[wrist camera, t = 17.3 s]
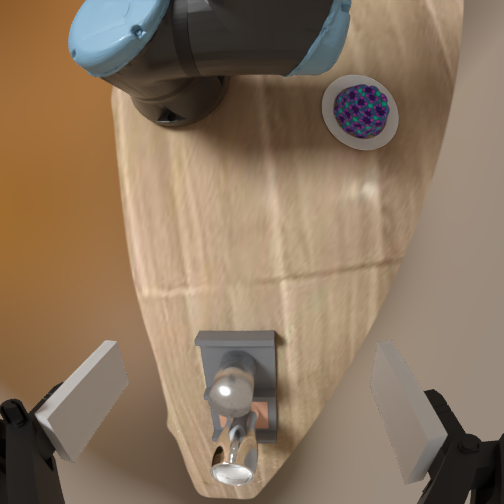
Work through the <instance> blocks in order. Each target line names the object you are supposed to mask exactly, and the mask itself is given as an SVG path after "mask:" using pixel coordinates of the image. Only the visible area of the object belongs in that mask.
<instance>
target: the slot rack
mask: <svg viewBox="0 0 504 504" xmlns="http://www.w3.org/2000/svg"><path fill="white" fill-rule="evenodd" d="M195 346H200V348H201V355H202V361H203V368H204V374H205V380H206V386H207V388H206V391H205V393H204V400H208V397H209V394H210V391H211V388H212V385H213V382H214V379H215V376H216V373H217V370H218V367H219V364H220V361H221V358H222V356H223V355H224V354H225V353H227V352H229V351H232V350H242V351H245V352H247V353H249V354H250V355H252V356H253V358H254V359H255V361H256V364H257V368H256V375H255V383H254V390H253V398H252V405H254V406H255V407H256V408H257V409H258V411H259V414H260V416H259V420H258V422H257V425H256V435H257V442H258V443H276V437H277V422H276V372H275V336H274V330H271V331H199V333H198V335H197V336H196V338H195ZM210 409H211V407H210ZM211 415H212V420H213V425H214V433H213V436H212V440H213V441H215V442H217V440H218V438H219V436H220V434H221V432H222V431H223V429H224V427H225V424H226V417H223V416H221V415H219V414H217V413H215V412H214V411H213V410H212V409H211Z"/></svg>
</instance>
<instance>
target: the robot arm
mask: <svg viewBox="0 0 504 504" xmlns="http://www.w3.org/2000/svg"><path fill="white" fill-rule="evenodd" d="M350 7H351V0H86V1H85V2H84V4H83V5H82V6H81V8H80V9H79V11H78V13H77V14H76V16H75V18H74V21H73V23H72V26H71V29H70V33H69V40H68V41H69V42H68V44H69V51H70V54H71V56H72V58H73V60H74V61H75V62H76V63H77V64H78V65H79V66H81V67H82V68H84V69H85V70H86V71H87V72H88V73H89V74H90V75H91V76H95V77H99V78H101V79H103V80H105V81H106V82H108V83H110V84H112V85H113V86H115V87H117V88H119V89H121V90H122V91H124V92H126V93H128V94H130V96H131V99H132V101H133V103H134V105H135V107H136V108H137V110H138V111H139V112H140V113H141V114H142V115H143V116H144V117H146V118H147V119H149V120H151V121H153V122H155V123H157V124H159V125H163V126H168V127H179V126H185V125H189V124H192V123H194V122H197V121H199V120H201V119H202V118H204V117H205V116H207V115H208V114H209V113H211V112H212V111H213V110H214V109H215V108H216V107H217V106H218V104H219V103H220V102H221V100H222V99H223V97H224V95H225V93H226V90H227V87H228V83H229V75H281V76H283V77H288V76H293V75H319V74H322V73H324V72H326V71H328V70H329V69H331V67H332V66H333V65H334V64H335V63H336V61H337V59H338V57H339V55H340V53H341V51H342V49H343V46H344V43H345V40H346V36H347V32H348V28H349V23H350V15H349V10H350ZM128 384H129V381H128V378H127V374H126V371H125V368H124V364H123V361H122V357H121V354H120V350H119V346H118V343H117V341H108V340H106V341H104V342H103V343H102V344H101V345H100V346H99V347H98V348H97V349H96V350H95V351H94V352H93V353H92V354H91V355H90V356H89V358H88V359H86V360H85V361H84V363H83V364H82V365H81V366H80V367H79V368H78V369H77V370H76V371H75V372H74V373H73V374H72V375H71V376H70V377H69V378H68V379H67V380H66V381H65V382H62V383H60V384H58V385H56V386H54V387H53V388H52V389H51V390H50V391H49V392H48V394H47V395H46V396H45V397H44V399H42V400H41V401H40V402H39V403H38V404H37V405H36V406H35V407H34V408H33V409H32V411H30V412H29V413H27V411H26V409H25V408H24V406H23V404H22V402H21V401H20V400H17V399H10V400H6V401H5V402H3V403H2V404H1V405H0V414H1V416H2V417H3V419H4V420H2V419H0V504H65V501H64V498H63V494H62V489H61V485H60V481H59V476H58V471H57V466H56V461H55V458H54V456H53V453H54V451H55V450H56V451H57V453H58V454H59V456H60V457H61V459H64V460H66V461H69V462H71V463H75V461H76V460H77V458H78V457H79V455H80V454H81V452H82V451H83V449H84V448H85V446H86V445H87V443H88V442H89V440H90V439H91V437H92V436H93V435H94V433H95V432H96V430H97V429H98V427H99V426H100V424H101V423H102V421H103V420H104V418H105V417H106V415H107V414H108V413H109V411H110V410H111V408H112V407H113V405H114V404H115V402H116V401H117V399H118V398H119V396H120V395H121V394H122V392H123V391H124V389H125V388H126V387H127V385H128ZM370 388H371V390H372V393H373V396H374V398H375V401H376V403H377V406H378V409H379V411H380V414H381V417H382V419H383V422H384V425H385V428H386V430H387V433H388V436H389V439H390V442H391V444H392V447H393V450H394V453H395V456H396V459H397V462H398V465H399V468H400V471H401V474H402V477H403V480H404V483H405V485H406V484H409V483H413V482H417V481H421V480H423V479H424V477H425V475H426V474H427V472H428V473H429V475H430V478H431V479H430V481H429V482H428V484H427V486H426V487H425V488H424V490H423V491H422V492H423V494H422V496H421V497H420V499H419V501H418V503H417V504H464V503H465V501H466V498H467V496H468V493H469V491H470V490H471V499H470V504H504V433H503V434H502V436H501V438H500V439H499V440H497V441H487V442H481V440H480V439H479V438H478V437H477V436H475V435H472V434H466V433H465V431H464V430H463V428H462V426H461V425H460V423H459V422H458V420H457V418H456V417H455V415H454V413H453V412H452V411H451V409H450V407H449V405H447V402H446V401H445V399H444V398H443V396H442V395H441V394H440V393H438V392H437V391H435V390H434V389H432V390H427V391H423V390H422V388H421V387H420V385H419V384H418V382H417V380H416V378H415V377H414V375H413V373H412V372H411V370H410V369H409V367H408V365H407V364H406V362H405V361H404V359H403V357H402V356H401V354H400V353H399V351H398V349H397V348H396V346H395V345H394V343H393V342H392V340H390V341H380V342H377V348H376V355H375V360H374V366H373V372H372V377H371V383H370Z"/></svg>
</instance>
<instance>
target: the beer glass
mask: <svg viewBox="0 0 504 504" xmlns="http://www.w3.org/2000/svg"><path fill="white" fill-rule="evenodd" d="M259 416H260V414H259V411H258V409H257V408H256V407H255V406H254V405H251V409H250V411H249V412H248V413H247V414H246V415H244V416H242V417H238V418H227V417H226V424H225V427H224V429H223V431H222V432H221V434H220V436H219V438H218V440H217V442H216V445H215V448H214V451H213V456H212V462H211V469H210V474H211V476H212V477H213V478H214V479H215V480H216V481H218V482H220V483H223V484H226V485H230V486H243V485H247V484H249V483H251V482H252V481H253V480H254V478H255V472H256V468H257V462H258V442H257V435H256V425H257V422H258V420H259Z"/></svg>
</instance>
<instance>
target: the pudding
mask: <svg viewBox="0 0 504 504" xmlns="http://www.w3.org/2000/svg"><path fill="white" fill-rule="evenodd" d="M352 86H353V87H352ZM348 87H350V88H348ZM346 88H348V89H347V90H346V91H345V92H343V93H340V92H341V91H342V90H344V89H346ZM339 93H340V94H339ZM338 94H339V95H338ZM337 95H338V96H337ZM336 97H337V98H336ZM335 99H336V102H337V106H336V107H335V109H334V110H333V107H334V101H335ZM322 114H323V118H324V121H325V123H326V125H327V127H328V129H329V130H330V132H331V133H332V134H333V135H334V136H335V137H336V138H337V139H338V140H339V141H341V142H342V143H344V144H345V145H347V146H349V147H352V148H354V149H358V150H374V149H378V148H380V147H382V146H384V145H386V144H387V143H388V142H389V141H390V140H391V139H392V138H393V136H394V135H395V133H396V131H397V128H398V123H399V114H398V109H397V105H396V103H395V101H394V99H393V97H392V95H391V94H390V92H389V91H388V90H387V89H386V88H385V87H384V86H383V85H382V84H380V83H379V82H377V81H376V80H374V79H372V78H369V77H367V76H363V75H355V74H353V75H346V76H342V77H340V78H338V79H336V80H335V81H333V82H332V83H331V84H330V85H329V86H328V87H327V89H326V91H325V93H324V95H323V99H322ZM334 114H335V116H336V118H337V119H339V120H340V121H341V127H342V128H343V129H344V130H345V131H346V132H348V133H350V132H353V133H354V134H355V135H356V136H357V137H359V138H356V137H353V136H351V135H349V134H347V133H346V132H345V131H344V130H343V129H342V128H341V127H340V126H339V124H338V123H337V121H336V119H335V116H334ZM386 120H387V122H386ZM385 122H386V125H385V128H384V129H383V131H382V132H381V133H380V134H379V135H377V134H378V133H379V132H380V131H381V129H382V127H383V124H385ZM369 134H370V135H377V136H375V137H373V138H369V139H360V138H366V137H367V136H368V135H369Z"/></svg>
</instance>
